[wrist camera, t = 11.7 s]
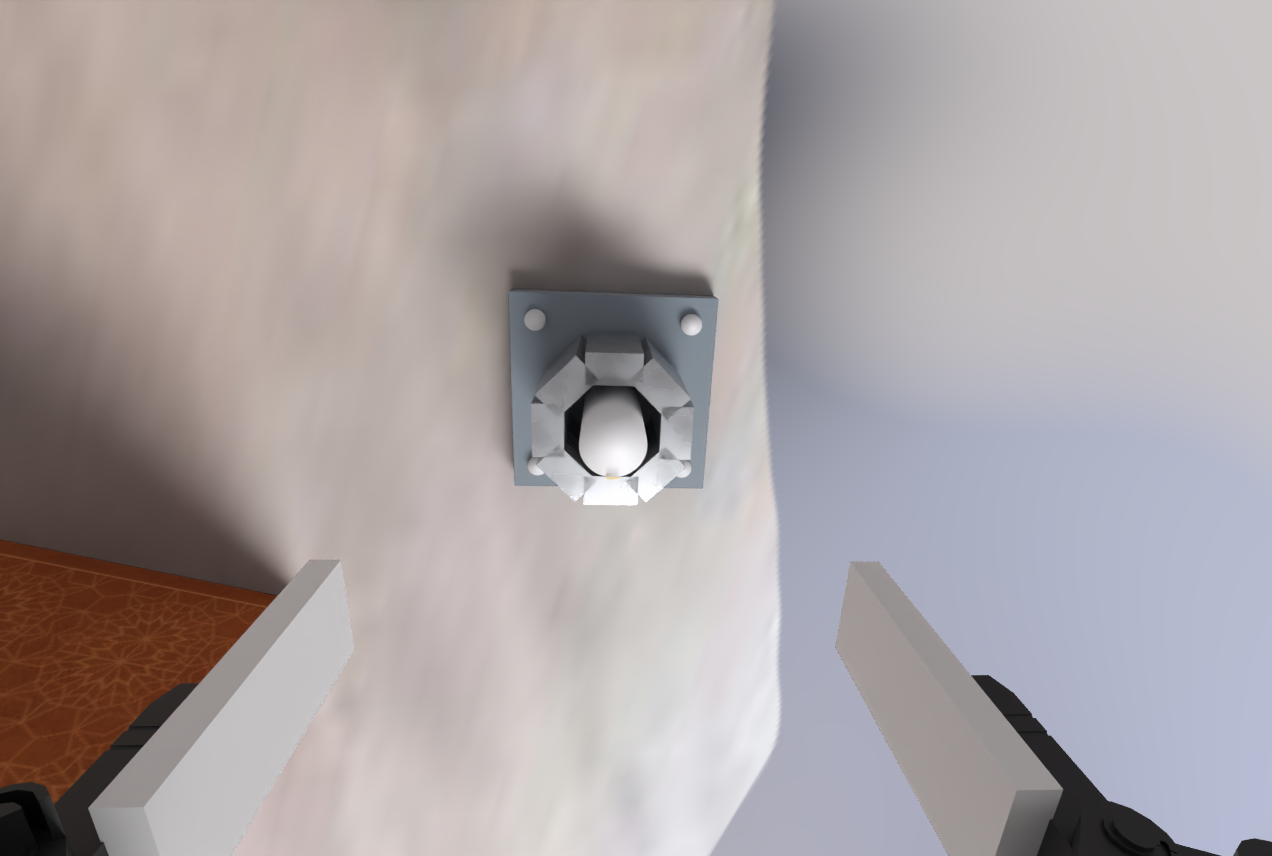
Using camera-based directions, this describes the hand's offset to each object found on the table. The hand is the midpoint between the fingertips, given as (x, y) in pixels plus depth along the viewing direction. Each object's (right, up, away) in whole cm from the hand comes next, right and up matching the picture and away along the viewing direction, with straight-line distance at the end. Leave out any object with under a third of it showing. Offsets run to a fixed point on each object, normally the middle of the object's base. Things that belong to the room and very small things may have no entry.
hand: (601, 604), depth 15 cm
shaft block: (-1, +7, +21) cm, 23 cm away
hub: (-1, +6, +19) cm, 21 cm away
